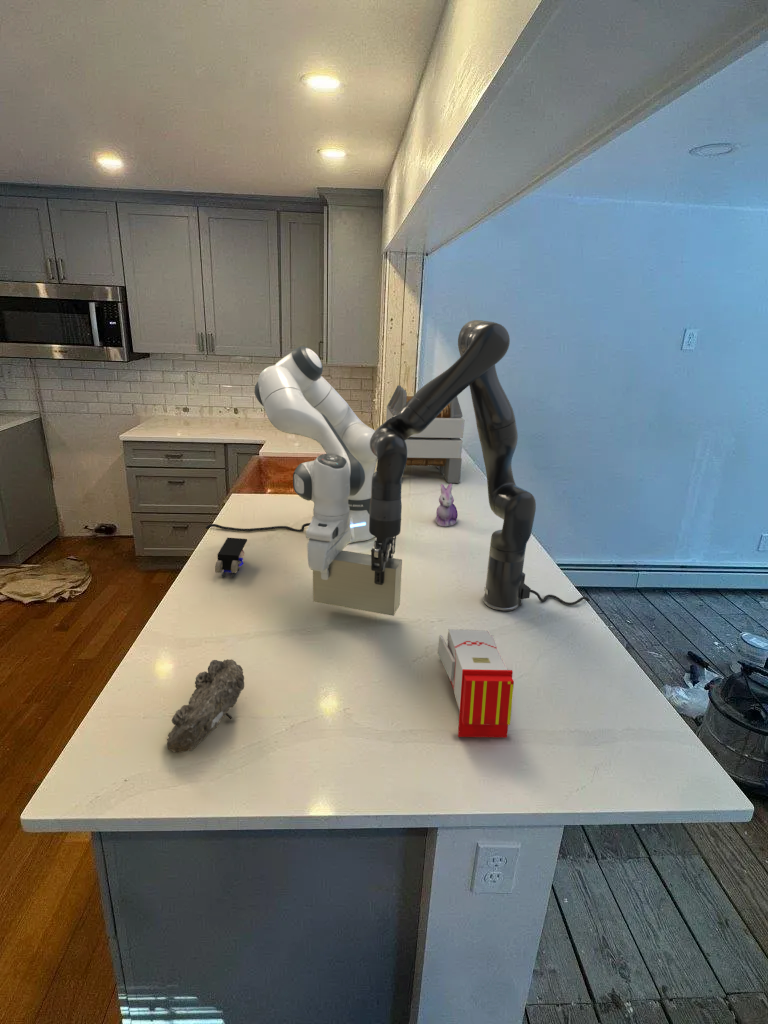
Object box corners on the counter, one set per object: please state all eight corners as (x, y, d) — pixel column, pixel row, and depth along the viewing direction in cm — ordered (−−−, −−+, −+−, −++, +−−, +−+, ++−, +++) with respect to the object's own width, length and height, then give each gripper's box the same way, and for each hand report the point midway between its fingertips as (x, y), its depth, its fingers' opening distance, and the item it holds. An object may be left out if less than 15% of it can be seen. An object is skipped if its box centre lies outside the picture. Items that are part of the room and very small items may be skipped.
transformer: (382, 463, 289) (386, 382, 275) (445, 464, 293) (451, 384, 279) (390, 482, 257) (394, 392, 243) (460, 483, 261) (468, 394, 247)
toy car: (238, 584, 162) (249, 557, 175) (236, 562, 158) (247, 536, 172) (215, 584, 161) (227, 556, 175) (212, 561, 158) (225, 535, 171)
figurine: (442, 528, 206) (446, 489, 201) (428, 519, 214) (431, 481, 209) (464, 525, 210) (468, 486, 205) (449, 516, 218) (452, 479, 213)
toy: (488, 613, 130) (523, 677, 101) (484, 667, 133) (517, 744, 104) (435, 612, 130) (455, 676, 101) (432, 666, 133) (451, 743, 103)
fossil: (192, 660, 117) (244, 628, 112) (224, 691, 120) (276, 661, 115) (142, 746, 98) (202, 712, 93) (182, 779, 101) (242, 748, 96)
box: (313, 601, 144) (312, 556, 140) (321, 591, 149) (321, 547, 145) (393, 615, 139) (396, 569, 134) (399, 604, 144) (402, 559, 140)
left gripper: (334, 506, 149) (333, 554, 153) (302, 534, 130) (303, 587, 135) (357, 509, 147) (355, 558, 152) (328, 537, 128) (327, 592, 133)
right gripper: (392, 526, 126) (389, 593, 132) (408, 506, 139) (404, 568, 145) (360, 522, 128) (359, 588, 134) (378, 503, 141) (376, 564, 147)
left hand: (330, 572), depth 143 cm, fingers closed on box, 6 cm apart
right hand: (382, 577), depth 140 cm, fingers closed on box, 6 cm apart
